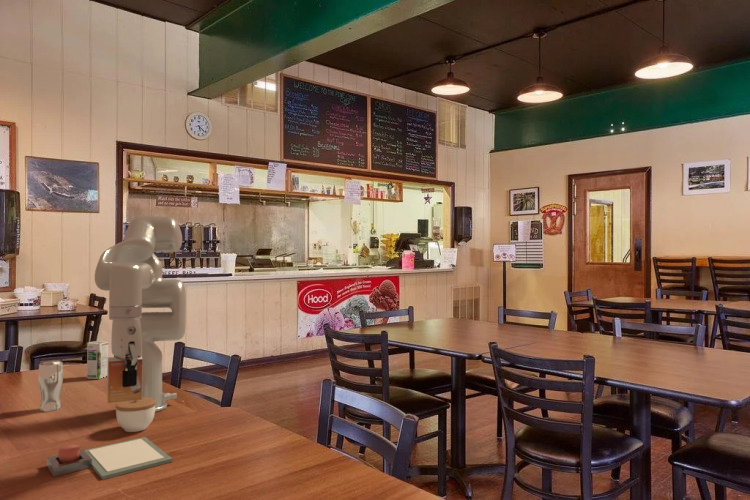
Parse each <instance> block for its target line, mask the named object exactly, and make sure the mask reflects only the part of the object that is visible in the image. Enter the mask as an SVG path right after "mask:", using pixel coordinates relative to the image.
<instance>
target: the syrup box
mask: <svg viewBox="0 0 750 500" xmlns="http://www.w3.org/2000/svg"><path fill="white" fill-rule="evenodd" d="M86 347H87V348H86V350H87V351H86V353H87V354H86V356H87V358H86V359H87V360H86V361H87V362H86V363H87V364H86V379H87V378H88V379H87V380H89V379H90V380H102V379H104V378H107V377H106V376H107V368H108V358H109V341H100V340H95V341H90V342H87V345H86ZM103 377H104V378H103ZM101 378H102V379H101Z"/></svg>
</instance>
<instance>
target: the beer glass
mask: <svg viewBox="0 0 750 500" xmlns="http://www.w3.org/2000/svg"><path fill="white" fill-rule="evenodd" d="M63 363H64V362H63V361H59V360H54V361H45V362H41V363H39V365H38V377H37V378H38V379H37V381H38V386H39V392H40V401H41V402H40V406H39V411H40V412H43V413H44V412H45V413H49V412H55V411H59V410H61V409H62V402H61V393H62V389H63V384H64V383H63V381H64V364H63Z"/></svg>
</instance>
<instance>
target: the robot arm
mask: <svg viewBox="0 0 750 500" xmlns="http://www.w3.org/2000/svg"><path fill="white" fill-rule="evenodd" d="M182 245H183V235H182V230H181V228H180V224H179V223H178V221H177V220H176V219H174V218H173V217H170V216H149V215H148V216H146V215H143V216H138V217H137V216H136V217H135V218H133V219H132V220H131V221H130V222H129V224H128V227H127V229H126V230H125V233H124V240H122V241H120V242H118V243H116V244H114V245H113V246H110V247H109V248H107V249H106V250H105V251H103V252H102V254H101V255H100V256H99V259H98V260H97V261H98V262H97V265H96V267H95V271H94V282H95V283H94V284H95V285H96V287H97V288H99V290H101V291H105V292H106V291H108V293H109V294H108V295H109V297H108V298H109V299H108V300H109V301H108V305H109V306H108V319H109V320H111V321H112V323H111V339H110V341H111V344H110V345H111V354H112V355H113V357H119V358H120V359H122V360H123V365H124V371H123V379H122V386H123V387H129V386H135V385H136V384H137V360H138V358H140V357H141V356H142V359H143V379H142V397H147V398H153V399H155V400H156V404H155V413H156V412H160V411H162V410H164V409H166V408H167V407H168V400H175V399H177V398H178V394H177V392H172V393H170V392H163V353H162V351H161V349H160V348H159V346H158V345H157V344H156V343H155V342H164V341H165V342H168V341H170V342H171V341H180V340H181V339H183V338H184V336H185V334H186V320H187V319H186V318H187V317H186V313H187V312H186V309H187V308H186V306H187V305H186V304H187V303H186V302H187V301H186V299H187V297H186V296H187V295H186V286H185V284H184V282H183V281H182V280H180V279H175V278H174V279H173V278H172V279H171V278H169V279H167V278H166V279H165V278H163V268H164V267H163V264H162V262H161V260H160V258H159V257H158V256H157V255H156V254H155V253H175V252H178V251H180V249H181V247H182ZM162 308H163V309H167V308H168V309H170V310H171V311H149V312H148V311H144V312H142V311H143V309H162ZM126 356H130V357H129V358H126ZM127 361H129V362H128V364H127Z"/></svg>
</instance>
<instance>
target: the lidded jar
mask: <svg viewBox="0 0 750 500" xmlns="http://www.w3.org/2000/svg"><path fill="white" fill-rule="evenodd" d="M155 404H156V400H155V399H153V398H147V397H142V400H137V401H123V402H116V404H115V416H116V417H115V418H116V420H117V423H118V425H119V427H121V429H123V430H124V432H127V433H137V432H141V431H144V430H146V429H148V427H149V425H150V424H151V423H152V422H153V420H154V418H155V414H156V412H155Z"/></svg>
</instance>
